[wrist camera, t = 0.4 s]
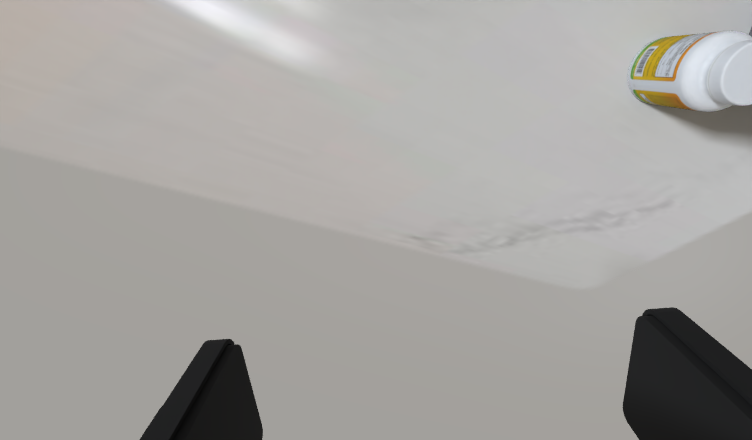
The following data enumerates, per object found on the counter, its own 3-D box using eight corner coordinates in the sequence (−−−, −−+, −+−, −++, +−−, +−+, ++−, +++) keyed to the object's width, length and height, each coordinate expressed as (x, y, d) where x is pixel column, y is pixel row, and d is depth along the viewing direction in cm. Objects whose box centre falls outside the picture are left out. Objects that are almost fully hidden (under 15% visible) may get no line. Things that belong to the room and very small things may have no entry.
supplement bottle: (694, 89, 35) (802, 98, 26) (631, 113, 36) (714, 129, 27) (686, 25, 33) (799, 11, 24) (620, 52, 34) (705, 48, 25)
